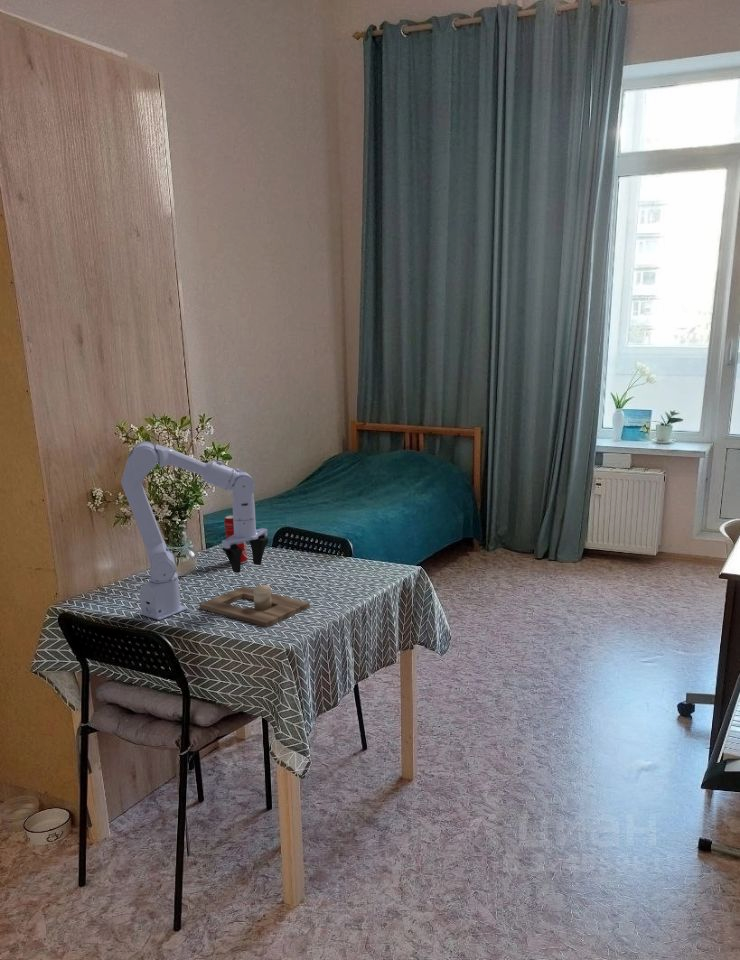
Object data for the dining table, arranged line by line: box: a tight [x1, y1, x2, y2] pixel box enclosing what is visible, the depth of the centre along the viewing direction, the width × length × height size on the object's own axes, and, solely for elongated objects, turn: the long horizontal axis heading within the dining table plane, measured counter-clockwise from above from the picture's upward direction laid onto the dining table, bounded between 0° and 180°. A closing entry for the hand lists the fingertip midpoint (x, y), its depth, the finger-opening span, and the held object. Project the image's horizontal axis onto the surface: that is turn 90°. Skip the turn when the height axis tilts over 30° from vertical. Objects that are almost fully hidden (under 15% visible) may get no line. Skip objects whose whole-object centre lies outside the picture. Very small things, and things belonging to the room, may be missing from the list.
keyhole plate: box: [199, 586, 310, 628], centre depth 192 cm, size 16×24×1 cm, turn 54°
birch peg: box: [252, 584, 272, 611], centre depth 190 cm, size 4×4×6 cm
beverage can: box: [223, 514, 249, 564], centre depth 231 cm, size 6×6×15 cm
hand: (247, 568), depth 195 cm, fingers open, 7 cm apart
